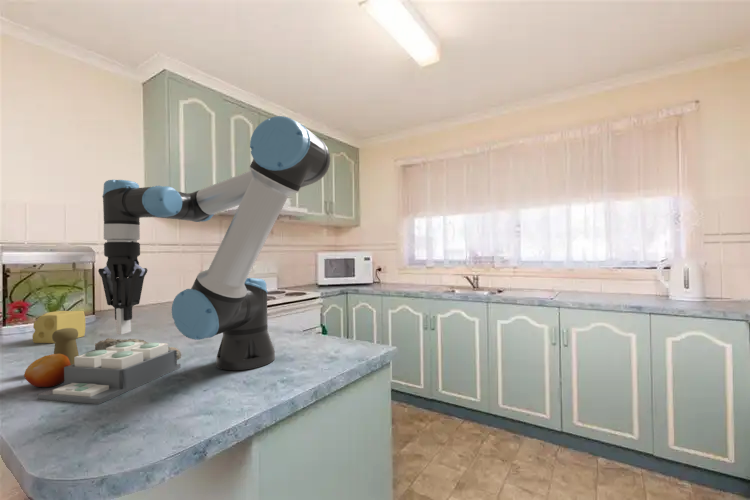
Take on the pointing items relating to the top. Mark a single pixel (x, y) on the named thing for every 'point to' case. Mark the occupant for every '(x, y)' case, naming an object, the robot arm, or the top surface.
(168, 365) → the button panel
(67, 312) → the cheese
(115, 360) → the button
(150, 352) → the button
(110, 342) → the elongated rock
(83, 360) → the button
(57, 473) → the top surface
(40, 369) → the fruit
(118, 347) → the button
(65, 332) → the cork
